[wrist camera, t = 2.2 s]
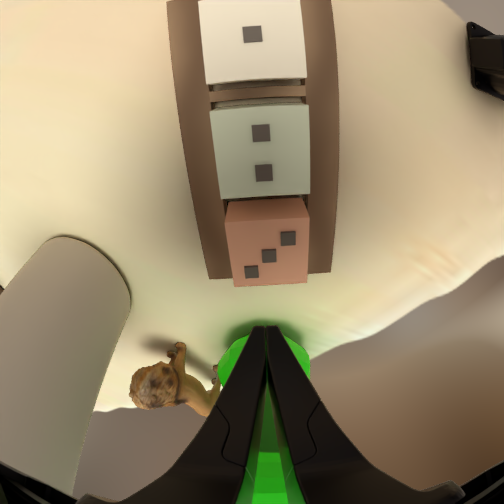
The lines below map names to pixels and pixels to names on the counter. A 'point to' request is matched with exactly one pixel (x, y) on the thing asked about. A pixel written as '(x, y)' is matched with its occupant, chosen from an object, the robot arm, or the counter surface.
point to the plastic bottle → (265, 430)
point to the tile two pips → (262, 149)
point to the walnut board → (311, 89)
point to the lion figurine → (172, 385)
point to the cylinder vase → (56, 355)
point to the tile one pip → (252, 40)
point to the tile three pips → (268, 241)
